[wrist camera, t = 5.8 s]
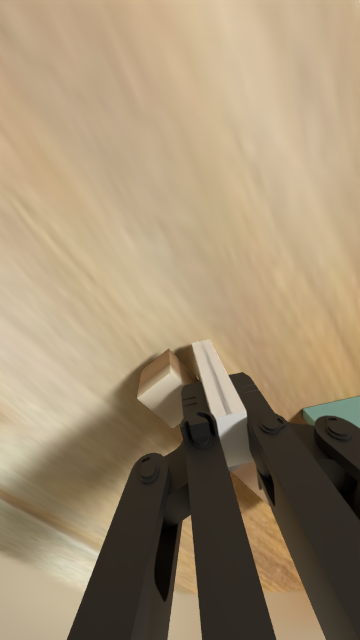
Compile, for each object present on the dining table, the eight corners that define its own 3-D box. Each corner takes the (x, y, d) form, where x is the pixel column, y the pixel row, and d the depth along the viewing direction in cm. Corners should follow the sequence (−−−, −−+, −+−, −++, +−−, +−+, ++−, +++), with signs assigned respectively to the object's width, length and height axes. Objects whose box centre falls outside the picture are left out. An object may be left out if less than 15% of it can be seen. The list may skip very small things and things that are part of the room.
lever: (142, 364, 14) (135, 404, 10) (168, 344, 14) (170, 377, 10) (280, 495, 20) (307, 551, 16) (300, 483, 20) (333, 537, 16)
